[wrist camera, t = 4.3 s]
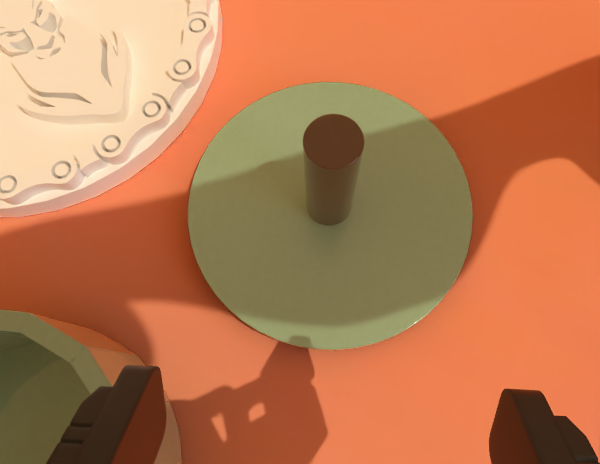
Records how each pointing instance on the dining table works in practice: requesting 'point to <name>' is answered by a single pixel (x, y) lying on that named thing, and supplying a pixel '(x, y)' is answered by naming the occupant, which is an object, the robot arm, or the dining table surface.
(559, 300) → the dining table surface
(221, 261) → the lid
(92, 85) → the medallion
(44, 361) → the bowl
